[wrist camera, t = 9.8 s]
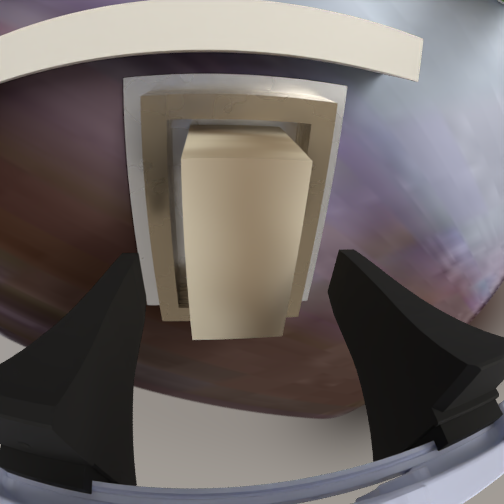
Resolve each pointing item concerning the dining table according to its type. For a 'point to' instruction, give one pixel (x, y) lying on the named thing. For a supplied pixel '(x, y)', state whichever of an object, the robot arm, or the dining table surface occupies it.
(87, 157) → the dining table surface
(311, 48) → the board
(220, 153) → the bar
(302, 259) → the keeper
